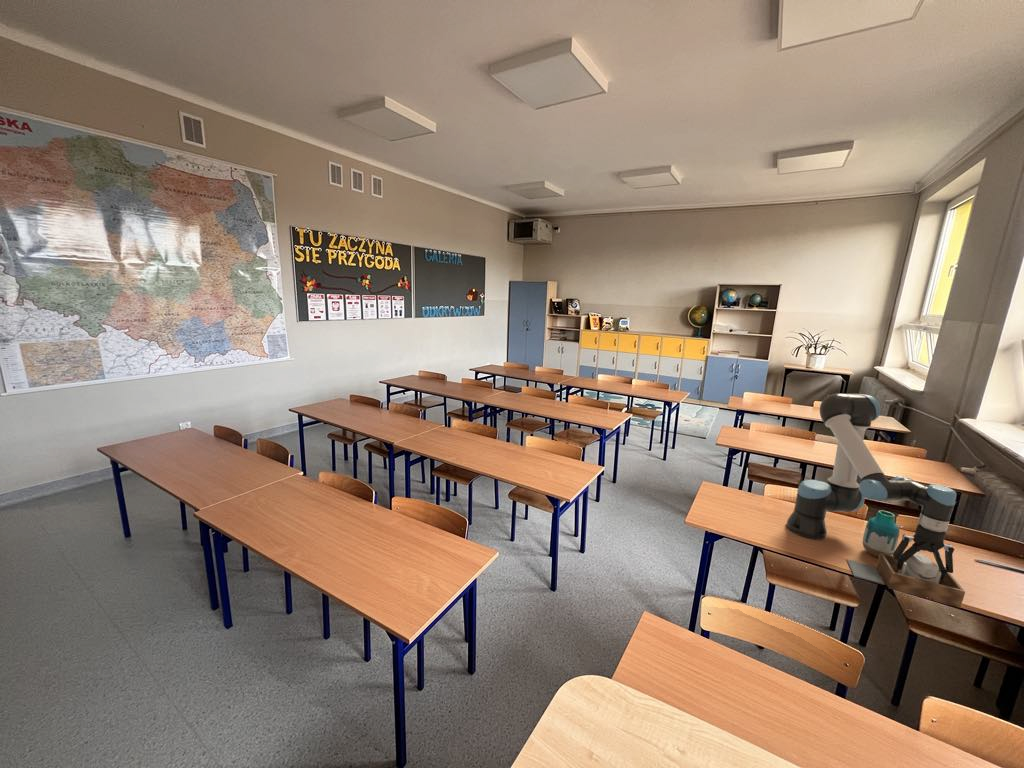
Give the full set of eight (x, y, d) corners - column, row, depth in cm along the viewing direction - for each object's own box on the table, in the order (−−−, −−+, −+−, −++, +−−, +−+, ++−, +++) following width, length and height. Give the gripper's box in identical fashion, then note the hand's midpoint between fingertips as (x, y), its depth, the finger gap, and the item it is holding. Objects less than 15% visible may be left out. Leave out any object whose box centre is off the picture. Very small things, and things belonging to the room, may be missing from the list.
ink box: (931, 595, 153) (940, 566, 150) (916, 592, 153) (924, 564, 151) (914, 580, 161) (922, 552, 158) (900, 577, 162) (907, 550, 159)
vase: (898, 565, 170) (909, 522, 166) (866, 558, 173) (876, 516, 169) (885, 550, 180) (896, 510, 176) (855, 545, 183) (865, 504, 179)
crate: (888, 588, 155) (892, 572, 154) (876, 567, 168) (880, 552, 166) (960, 608, 146) (965, 591, 145) (941, 583, 159) (946, 568, 158)
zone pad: (854, 576, 161) (854, 575, 161) (846, 560, 171) (846, 558, 171) (883, 584, 157) (884, 583, 157) (874, 567, 167) (874, 566, 167)
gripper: (897, 523, 154) (883, 577, 158) (978, 541, 144) (961, 598, 149) (890, 514, 160) (876, 566, 165) (967, 531, 151) (951, 585, 155)
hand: (916, 581), depth 157 cm, fingers open, 9 cm apart
